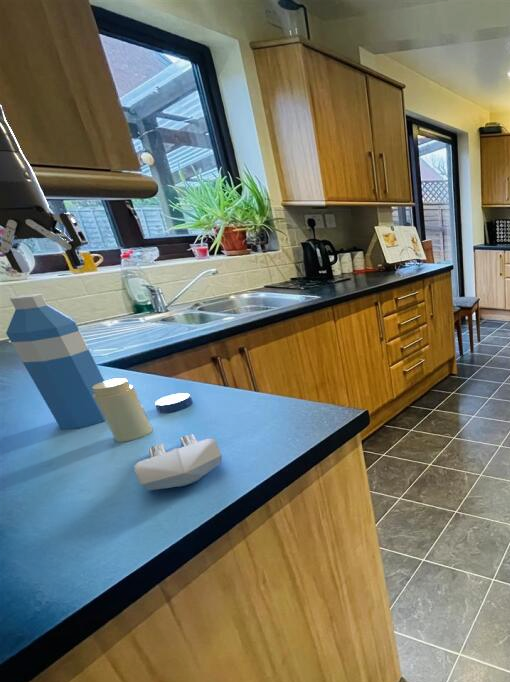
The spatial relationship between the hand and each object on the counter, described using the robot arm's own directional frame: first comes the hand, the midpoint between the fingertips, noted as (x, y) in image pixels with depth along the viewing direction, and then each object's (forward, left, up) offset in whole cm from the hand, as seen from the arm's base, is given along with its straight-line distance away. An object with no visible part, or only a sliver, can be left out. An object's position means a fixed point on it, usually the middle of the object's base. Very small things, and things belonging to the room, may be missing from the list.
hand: (51, 270), depth 81 cm
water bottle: (+1, -12, -28) cm, 31 cm away
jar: (+13, -24, -28) cm, 39 cm away
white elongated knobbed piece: (+26, -41, -28) cm, 56 cm away
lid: (+16, -13, -27) cm, 34 cm away
